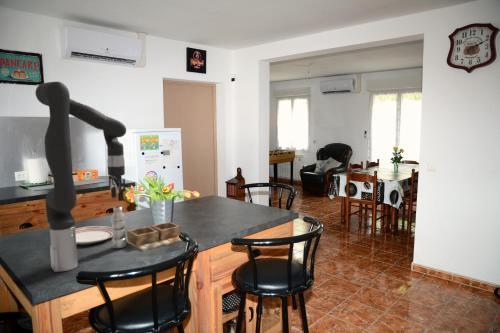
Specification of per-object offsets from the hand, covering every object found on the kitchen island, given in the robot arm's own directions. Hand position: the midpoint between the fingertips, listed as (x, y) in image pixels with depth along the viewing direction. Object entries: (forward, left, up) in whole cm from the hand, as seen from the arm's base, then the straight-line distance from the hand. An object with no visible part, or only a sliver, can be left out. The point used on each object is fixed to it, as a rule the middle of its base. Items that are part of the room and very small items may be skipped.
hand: (117, 199), depth 168 cm
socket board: (+18, -3, -24) cm, 30 cm away
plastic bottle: (0, 0, -24) cm, 24 cm away
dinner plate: (-6, +24, -24) cm, 35 cm away
